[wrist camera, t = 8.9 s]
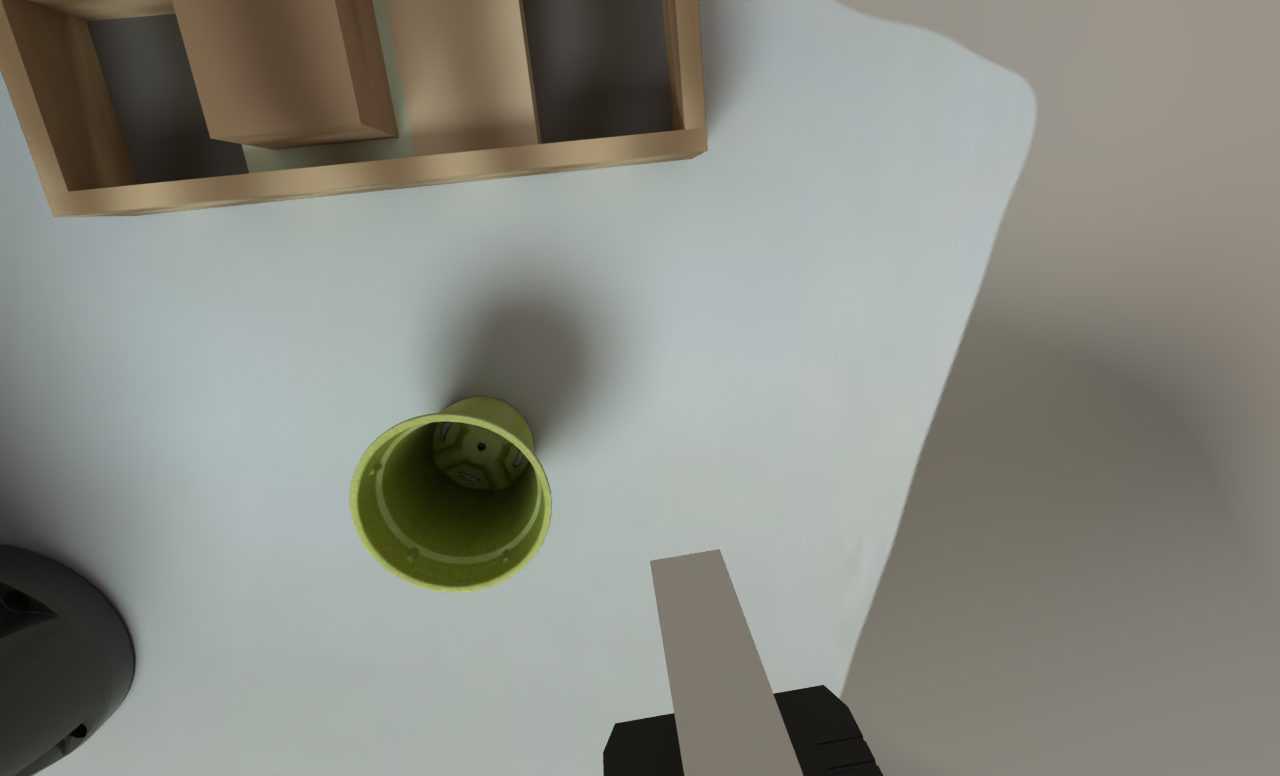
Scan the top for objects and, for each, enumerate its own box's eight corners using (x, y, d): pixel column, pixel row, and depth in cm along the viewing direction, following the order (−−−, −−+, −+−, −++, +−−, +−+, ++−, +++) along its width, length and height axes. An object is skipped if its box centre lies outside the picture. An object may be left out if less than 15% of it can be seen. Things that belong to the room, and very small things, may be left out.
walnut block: (273, 149, 29) (210, 138, 25) (237, 8, 28) (162, -33, 23) (399, 137, 30) (360, 123, 25) (371, -4, 28) (324, -47, 23)
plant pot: (430, 344, 36) (379, 386, 27) (582, 399, 37) (578, 453, 29) (386, 483, 38) (327, 561, 30) (532, 529, 39) (515, 615, 31)
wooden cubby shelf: (133, 215, 33) (53, 216, 28) (64, 2, 30) (-38, -37, 25) (691, 158, 34) (707, 150, 29) (676, -53, 31) (691, -101, 26)
